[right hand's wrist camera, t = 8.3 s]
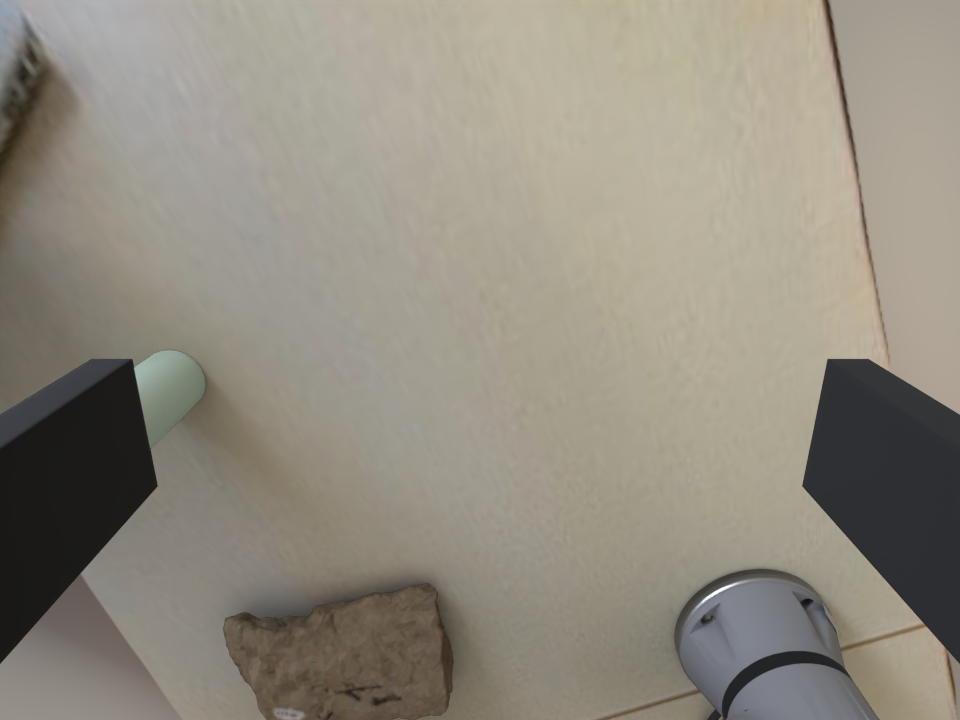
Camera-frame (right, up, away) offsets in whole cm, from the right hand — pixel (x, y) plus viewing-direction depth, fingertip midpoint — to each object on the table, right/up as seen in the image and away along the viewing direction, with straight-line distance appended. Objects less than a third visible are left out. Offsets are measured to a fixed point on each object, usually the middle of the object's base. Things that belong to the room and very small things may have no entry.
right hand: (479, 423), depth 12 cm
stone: (-13, -27, +54) cm, 62 cm away
